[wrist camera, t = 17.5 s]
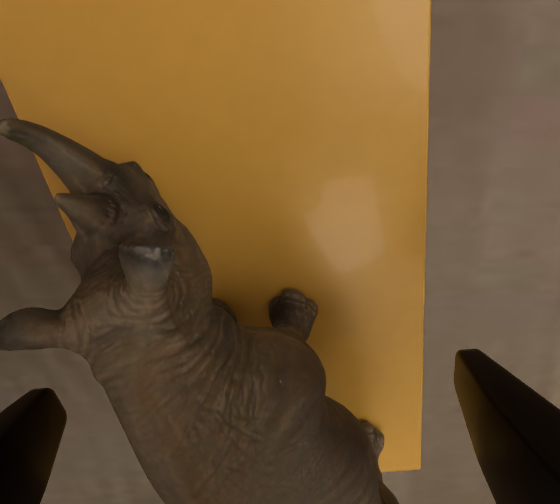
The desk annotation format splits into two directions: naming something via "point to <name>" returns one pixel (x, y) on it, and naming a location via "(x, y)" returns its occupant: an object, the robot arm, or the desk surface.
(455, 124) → the desk surface
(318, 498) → the rhino figurine
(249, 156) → the cover
